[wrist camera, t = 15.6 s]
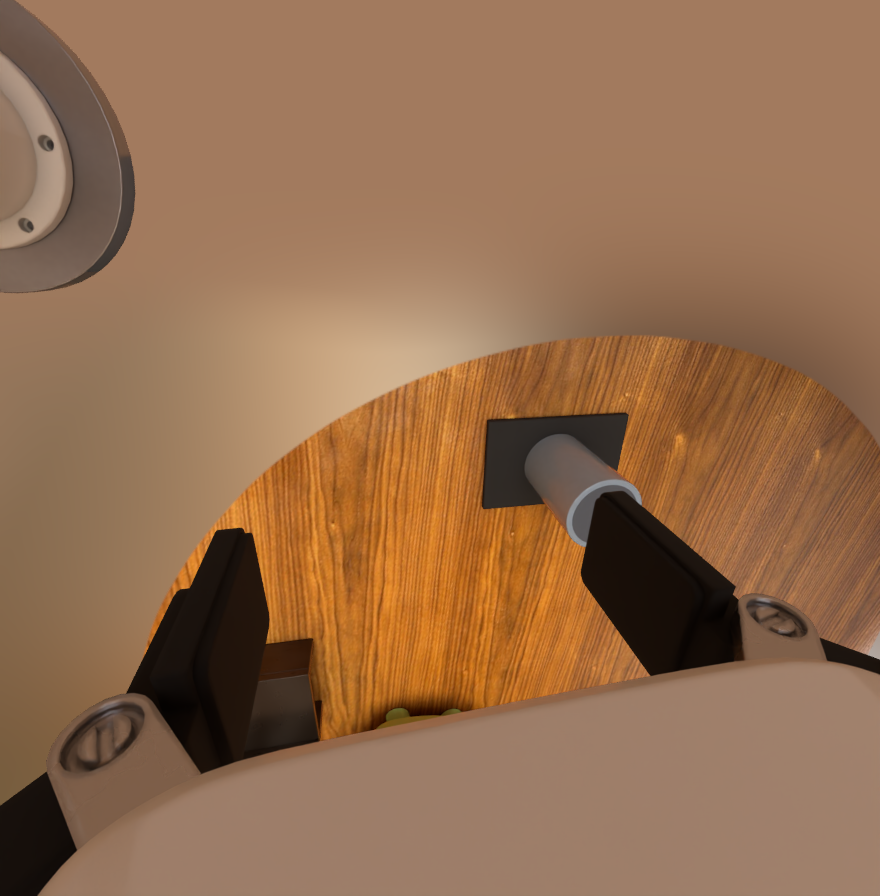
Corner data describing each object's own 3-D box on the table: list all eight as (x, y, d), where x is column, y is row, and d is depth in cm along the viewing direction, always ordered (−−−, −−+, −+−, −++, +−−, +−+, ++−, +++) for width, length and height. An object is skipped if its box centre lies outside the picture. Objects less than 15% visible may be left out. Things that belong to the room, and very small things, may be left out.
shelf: (222, 722, 52) (198, 805, 44) (201, 652, 47) (170, 731, 39) (323, 706, 54) (316, 783, 46) (312, 638, 49) (303, 710, 41)
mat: (482, 506, 46) (483, 509, 45) (487, 419, 42) (488, 421, 41) (609, 495, 48) (611, 498, 48) (625, 412, 44) (629, 414, 44)
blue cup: (521, 493, 45) (561, 552, 36) (527, 435, 43) (572, 482, 34) (580, 489, 47) (633, 544, 37) (589, 431, 44) (650, 476, 35)
